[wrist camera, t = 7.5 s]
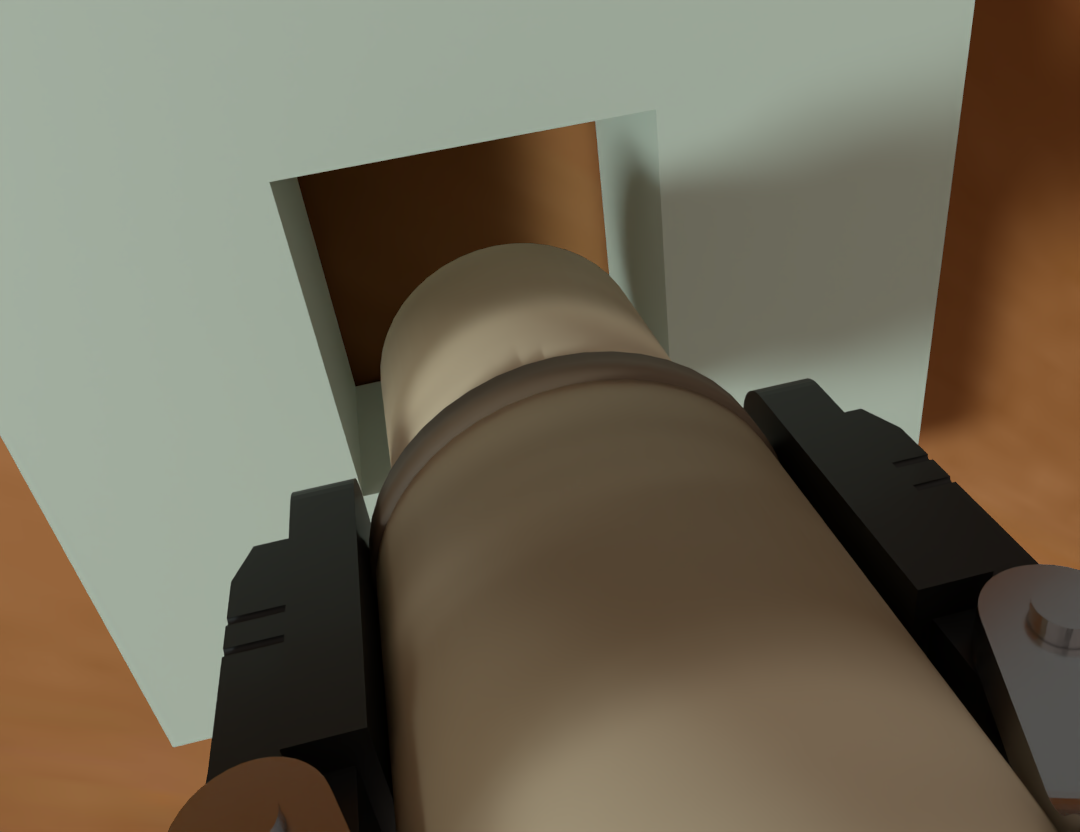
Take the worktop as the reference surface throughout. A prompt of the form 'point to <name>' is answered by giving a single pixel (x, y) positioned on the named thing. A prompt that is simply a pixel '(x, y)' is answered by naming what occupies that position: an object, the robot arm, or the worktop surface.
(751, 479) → the peg
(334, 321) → the board
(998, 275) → the worktop surface
